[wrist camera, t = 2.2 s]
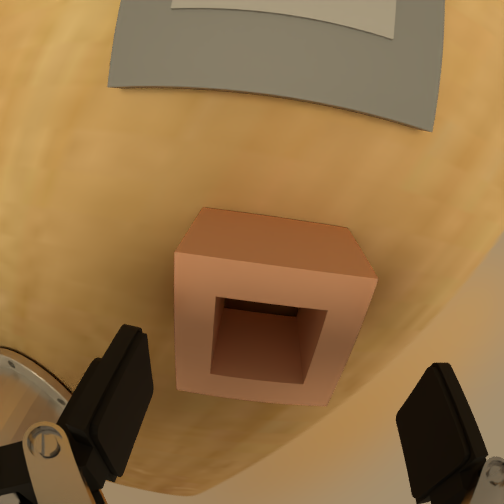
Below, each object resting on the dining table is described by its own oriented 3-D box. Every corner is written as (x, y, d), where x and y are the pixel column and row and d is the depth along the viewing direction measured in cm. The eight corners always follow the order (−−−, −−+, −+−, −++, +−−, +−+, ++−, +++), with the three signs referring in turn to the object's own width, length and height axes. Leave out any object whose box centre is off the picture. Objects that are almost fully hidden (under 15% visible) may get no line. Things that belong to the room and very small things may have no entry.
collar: (316, 340, 18) (326, 406, 13) (196, 324, 18) (176, 389, 13) (347, 227, 15) (378, 279, 10) (202, 207, 15) (174, 252, 10)
